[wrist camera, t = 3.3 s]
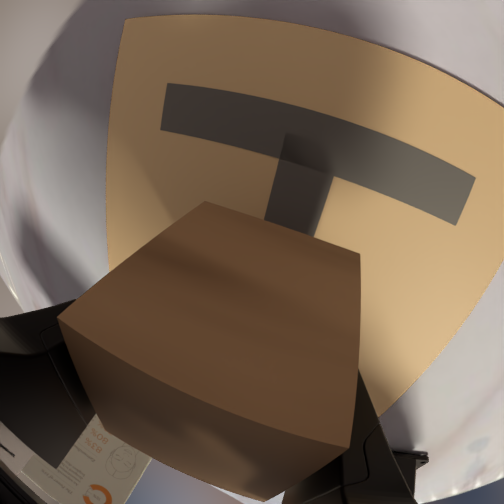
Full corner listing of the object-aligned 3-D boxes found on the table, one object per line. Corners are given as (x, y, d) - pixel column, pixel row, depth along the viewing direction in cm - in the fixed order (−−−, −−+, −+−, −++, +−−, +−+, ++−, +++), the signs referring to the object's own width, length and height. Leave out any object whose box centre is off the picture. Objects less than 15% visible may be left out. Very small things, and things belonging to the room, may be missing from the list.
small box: (95, 356, 23) (11, 454, 12) (106, 326, 19) (-4, 449, 8) (164, 412, 23) (96, 519, 12) (192, 394, 20) (107, 534, 9)
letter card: (372, 419, 15) (372, 423, 15) (118, 321, 18) (115, 324, 18) (545, 142, 6) (549, 143, 6) (129, 20, 9) (125, 18, 9)
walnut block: (307, 359, 11) (263, 502, 6) (190, 314, 12) (105, 430, 7) (360, 253, 8) (349, 448, 3) (204, 200, 9) (56, 317, 4)
